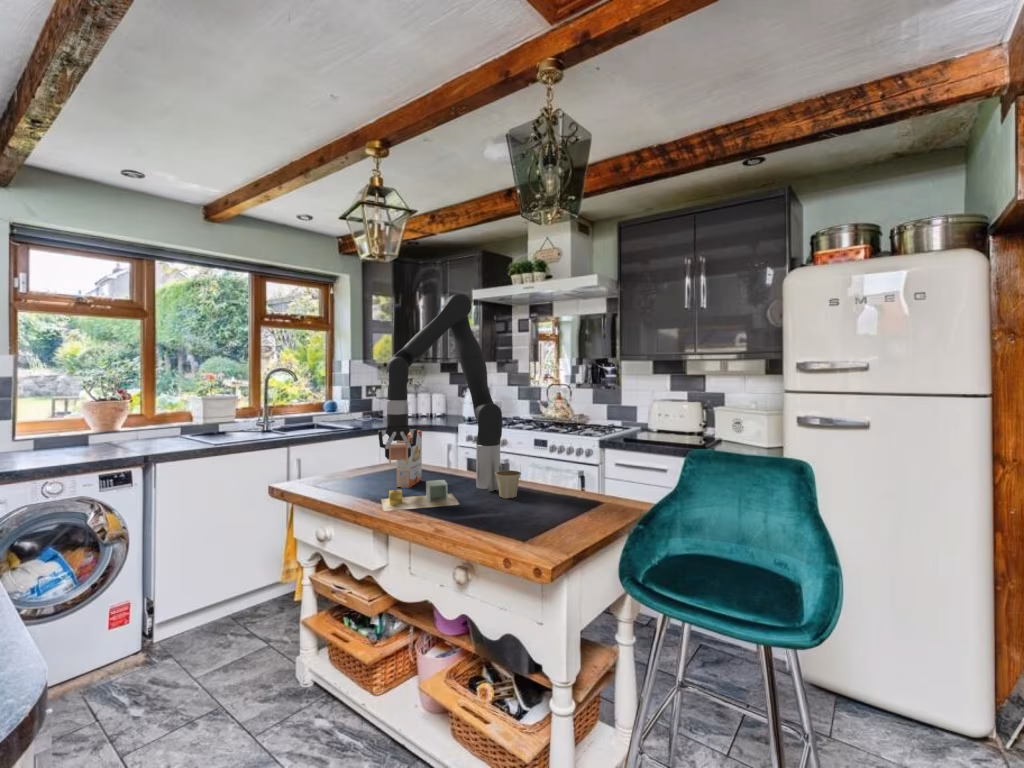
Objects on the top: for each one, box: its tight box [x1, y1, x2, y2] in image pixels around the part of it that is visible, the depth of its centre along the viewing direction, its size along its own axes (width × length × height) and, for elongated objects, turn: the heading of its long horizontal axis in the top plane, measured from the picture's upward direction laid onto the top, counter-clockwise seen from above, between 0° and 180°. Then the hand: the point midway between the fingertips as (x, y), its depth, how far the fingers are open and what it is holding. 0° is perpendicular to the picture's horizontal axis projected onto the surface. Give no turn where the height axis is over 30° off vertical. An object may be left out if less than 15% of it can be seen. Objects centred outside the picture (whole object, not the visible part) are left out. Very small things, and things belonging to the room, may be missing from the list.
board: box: [380, 493, 460, 512], centre depth 177 cm, size 25×15×1 cm, turn 107°
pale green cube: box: [425, 479, 449, 503], centre depth 179 cm, size 6×6×6 cm
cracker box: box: [396, 429, 423, 489], centre depth 205 cm, size 14×6×21 cm, turn 171°
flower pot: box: [495, 469, 522, 499], centre depth 187 cm, size 9×9×9 cm
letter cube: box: [388, 489, 403, 505], centre depth 175 cm, size 4×4×4 cm
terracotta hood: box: [387, 442, 408, 464], centre depth 187 cm, size 6×6×6 cm
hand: (397, 458), depth 187 cm, fingers closed on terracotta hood, 6 cm apart
